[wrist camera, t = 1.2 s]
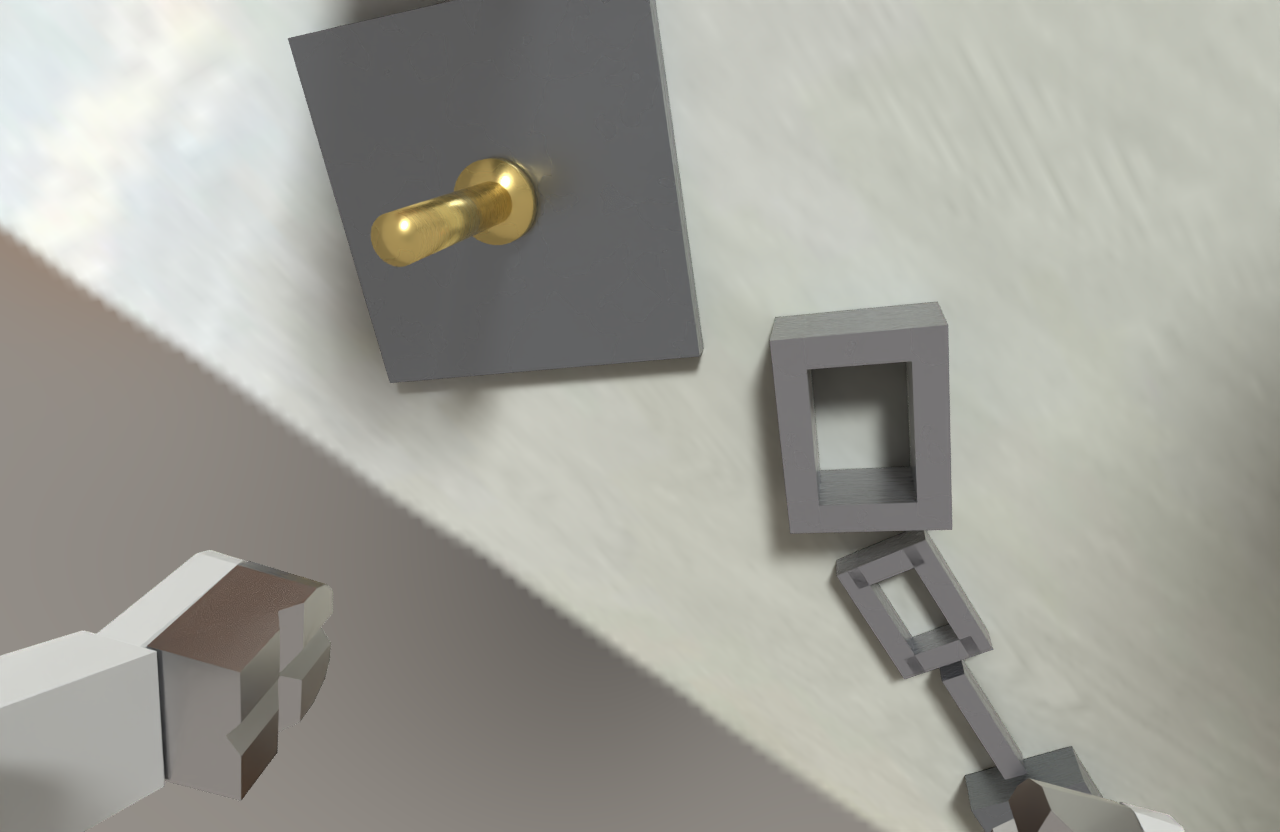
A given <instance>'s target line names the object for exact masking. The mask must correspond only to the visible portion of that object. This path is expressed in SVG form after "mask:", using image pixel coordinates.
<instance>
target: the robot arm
mask: <svg viewBox="0 0 1280 832" xmlns="http://www.w3.org/2000/svg"><path fill="white" fill-rule="evenodd" d="M332 613H333V590H332V589H331V588H330V587H329V586H328V585H327V584H324V583H320V582H317V581H314V580H311V579H307V578H304V577H300V576H297V575H294V574H291V573H288V572H284V571H281V570H278V569H274V568H271V567H268V566H264V565H261V564H258V563H254V562H251V561H248V562H247V561H244V560H241V559H238V558H235V557H231V556H228V555H225V554H222V553H218V552H215V551H212V550H208V551H204V552H200V553H197V554H195V555H194V556H192V557H191V558H190V559H189V560H187V561H186V562H185V563H184V564H182V565H181V566H180V567H179V568H178V569H176V570H175V571H174V572H173V573H172V574H170V575H169V576H168V577H166V578H165V579H164V580H163V581H161V582H160V583H159V584H158V585H157V586H155V587H154V588H153V589H151V590H150V591H149V592H148V593H146V594H145V595H144V596H143V597H141V599H139V600H138V601H137V602H135V603H134V604H133V605H131V606H130V607H129V608H128V609H126V610H125V611H124V612H123V613H122V614H120V615H119V616H118V617H117V618H115V619H114V620H113V621H112V622H110V623H109V624H108V625H107V626H105V627H104V628H103V629H102V630H100V631H99V632H98V633H97V634H95V633H91V632H87V631H84V630H83V631H79V632H76V633H73V634H70V635H66V636H63V637H60V638H56V639H53V640H50V641H47V642H43V643H40V644H37V645H34V646H30V647H27V648H24V649H20V650H17V651H14V652H11V653H8V654H4V655H1V656H0V832H85V831H87V830H88V829H90V828H92V827H94V826H96V825H97V824H99V823H101V822H102V821H104V820H106V819H108V818H109V817H111V816H113V815H115V814H117V813H118V812H120V811H122V810H123V809H125V808H127V807H129V806H130V805H132V804H134V803H136V802H137V801H139V800H141V799H143V798H145V797H146V796H148V795H150V794H151V793H153V792H155V791H157V790H159V789H160V788H162V787H164V785H165V781H167V782H171V783H175V784H178V785H182V786H186V787H190V788H194V789H198V790H201V791H205V792H209V793H213V794H217V795H221V796H224V797H228V798H232V799H236V800H239V801H241V800H242V799H243V798H244V796H245V795H246V794H247V792H248V791H249V790H250V788H251V787H252V786H253V784H254V783H255V782H256V780H257V779H258V778H259V776H260V775H261V774H262V772H263V771H264V770H265V768H266V767H267V766H268V764H269V763H270V762H271V760H272V759H273V758H274V756H275V755H276V754H277V751H278V750H277V749H278V732H280V731H282V730H284V729H286V728H288V727H291V726H293V725H295V724H297V723H299V722H300V721H301V720H302V719H303V717H304V716H305V714H306V713H307V712H308V710H309V709H310V707H311V706H312V705H313V703H314V701H315V699H316V697H317V695H318V693H319V691H320V688H321V686H322V684H323V682H324V680H325V677H326V673H327V669H328V665H329V661H330V650H331V642H330V640H329V639H328V637H327V636H326V634H325V633H324V631H323V629H322V628H321V627H322V626H323V624H324V623H325V622H326V621H327V619H328V618H329V617H330V615H332ZM1008 802H1009V805H1010V808H1011V811H1012V814H1013V817H1014V819H1012V820H1010V821H1008V822H1006V823H1003V824H1001V825H999V826H997V827H995V828H993V829H992V831H991V832H1185V831H1184V829H1183V827H1182V826H1181V825H1180V824H1179V823H1178V822H1177V821H1176V820H1175V819H1174V818H1172V817H1171V816H1170V815H1169V814H1166V813H1162V812H1158V811H1154V810H1150V809H1146V808H1142V807H1138V806H1134V805H1131V804H1127V803H1123V802H1120V803H1118V802H1115V801H1112V800H1109V799H1105V798H1101V797H1098V796H1094V795H1090V794H1086V793H1083V792H1079V791H1075V790H1071V789H1068V788H1064V787H1060V786H1056V785H1053V784H1049V783H1045V782H1042V781H1038V780H1034V779H1030V778H1028V779H1026V780H1025V781H1023V782H1022V783H1020V784H1019V785H1018V786H1017V787H1016V789H1015V791H1014V792H1013V794H1012V796H1011V797H1010V799H1009V801H1008Z"/></svg>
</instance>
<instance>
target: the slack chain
mask: <svg viewBox="0 0 1280 832" xmlns="http://www.w3.org/2000/svg"><path fill="white" fill-rule="evenodd" d="M912 568H915V570H916V571H917V573H918V575H919V576H920V578H921V579H922V581H923V583H924V584H925V586H926V587H927V589H928V591H929V592H930V594H931V595H932V597H933V599H934V600H935V602H936V603H937V605H938V607H939V608H940V610H941V611H942V613H943V615H944V616H945V618H946V619H947V621H948V623H949V625H946V626H943V627H940V628H937V629H935V630H932V631H929V632H926V633H923V634H921V635H918V636H915V637H912V636H911V634H910V633H909V631H908V630H907V628H906V627H905V625H904V623H903V622H902V620H901V619H900V617H899V616H898V614H897V613H896V611H895V609H894V608H893V606H892V605H891V603H890V602H889V600H888V599H887V597H886V595H885V594H884V592H883V591H882V589H881V588H880V586H879V585H878V583H877V582H879V581H882V580H884V579H887V578H890V577H892V576H895V575H897V574H900V573H902V572H905V571H907V570H910V569H912ZM837 577H838V579H839V580H840V582H841V583H842V585H843V586H844V588H845V589H846V591H847V592H848V594H849V595H850V597H851V599H852V600H853V602H854V603H855V605H856V606H857V608H858V609H859V611H860V612H861V614H862V615H863V617H864V618H865V620H866V621H867V623H868V624H869V626H870V628H871V629H872V631H873V632H874V634H875V635H876V637H877V638H878V640H879V641H880V643H881V644H882V646H883V647H884V649H885V650H886V652H887V653H888V655H889V657H890V658H891V660H892V661H893V663H894V664H895V666H896V667H897V669H898V670H899V672H900V673H901V675H902V676H903V678H904V679H907V678H910V677H913V676H916V675H919V674H922V673H925V672H928V671H930V670H933V669H936V668H939V667H940V672H941V678H942V682H943V684H944V685H945V687H946V688H947V690H948V691H949V693H950V695H951V696H952V698H953V699H954V701H955V702H956V704H957V705H958V707H959V709H960V710H961V712H962V713H963V715H964V716H965V718H966V719H967V721H968V723H969V724H970V726H971V727H972V729H973V730H974V732H975V733H976V735H977V737H978V738H979V740H980V741H981V743H982V744H983V746H984V747H985V749H986V751H987V752H988V754H989V755H990V757H991V758H992V760H993V762H994V763H995V765H996V766H997V767H994V768H991V769H987V770H983V771H980V772H976V773H973V774H969V775H965V779H966V784H967V789H968V795H969V800H970V805H971V811H972V812H973V814H974V815H975V817H976V818H977V820H978V821H979V823H980V824H981V826H982V827H983V829H984V830H985V832H991V831H992V829H993V828H995V827H997V826H999V825H1001V824H1003V823H1006V822H1008V821H1010V820H1012V819H1014V817H1013V814H1012V811H1011V808H1010V805H1009V802H1008V801H1009V799H1010V797H1011V796H1012V794H1013V792H1014V791H1015V789H1016V787H1017V786H1018V785H1019V784H1020V783H1022V782H1023V781H1025V780H1026V779H1028V778H1030V779H1034V780H1038V781H1042V782H1045V783H1049V784H1053V785H1056V786H1060V787H1064V788H1068V789H1071V790H1075V791H1079V792H1083V793H1086V794H1090V795H1094V796H1098V797H1101V798H1103V797H1102V795H1101V794H1100V792H1099V790H1098V789H1097V787H1096V785H1095V784H1094V782H1093V781H1092V779H1091V777H1090V776H1089V774H1088V772H1087V771H1086V769H1085V767H1084V766H1083V764H1082V762H1081V761H1080V759H1079V758H1078V756H1077V754H1076V753H1075V751H1074V749H1073V748H1072V746H1071V747H1067V748H1064V749H1060V750H1056V751H1053V752H1049V753H1045V754H1042V755H1038V756H1034V757H1031V758H1027V759H1023V756H1022V752H1021V751H1020V749H1019V748H1018V746H1017V745H1016V743H1015V741H1014V740H1013V738H1012V737H1011V735H1010V733H1009V732H1008V730H1007V729H1006V727H1005V725H1004V724H1003V722H1002V721H1001V719H1000V717H999V716H998V714H997V713H996V711H995V710H994V708H993V706H992V705H991V703H990V702H989V700H988V698H987V697H986V695H985V694H984V692H983V690H982V689H981V687H980V686H979V684H978V682H977V681H976V679H975V678H974V676H973V675H972V673H971V671H970V670H969V668H968V667H967V665H966V663H965V662H964V660H963V659H966V658H969V657H972V656H975V655H978V654H981V653H984V652H987V651H990V650H993V647H992V644H991V640H990V636H989V633H988V630H987V629H986V627H985V625H984V624H983V622H982V621H981V619H980V617H979V616H978V614H977V612H976V611H975V609H974V607H973V606H972V604H971V603H970V601H969V599H968V598H967V596H966V594H965V593H964V591H963V590H962V588H961V586H960V585H959V583H958V581H957V580H956V578H955V576H954V575H953V573H952V572H951V570H950V568H949V567H948V565H947V563H946V562H945V560H944V559H943V557H942V555H941V554H940V552H939V550H938V549H937V547H936V545H935V544H934V542H933V541H932V539H931V537H930V536H929V534H928V532H927V531H926V530H912V531H906V532H904V533H901V534H899V535H896V536H894V537H892V538H889V539H887V540H884V541H882V542H880V543H877V544H875V545H872V546H870V547H867V548H865V549H863V550H860V551H858V552H855V553H853V554H851V555H848V556H846V557H843V558H841V559H839V560H837Z"/></svg>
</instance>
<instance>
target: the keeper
mask: <svg viewBox="0 0 1280 832" xmlns="http://www.w3.org/2000/svg"><path fill="white" fill-rule="evenodd" d="M288 40H289V44H290V47H291V50H292V54H293V57H294V61H295V64H296V67H297V71H298V74H299V77H300V81H301V84H302V88H303V91H304V94H305V98H306V101H307V104H308V108H309V111H310V115H311V118H312V121H313V125H314V128H315V131H316V135H317V138H318V142H319V145H320V148H321V152H322V155H323V158H324V162H325V165H326V169H327V172H328V175H329V179H330V182H331V185H332V189H333V192H334V196H335V199H336V202H337V206H338V209H339V212H340V216H341V219H342V223H343V226H344V229H345V233H346V236H347V239H348V243H349V246H350V250H351V253H352V256H353V260H354V263H355V266H356V270H357V273H358V277H359V280H360V283H361V287H362V290H363V293H364V297H365V300H366V304H367V307H368V310H369V314H370V317H371V320H372V324H373V327H374V331H375V334H376V337H377V341H378V344H379V347H380V351H381V354H382V358H383V361H384V364H385V368H386V371H387V374H388V378H389V381H390V383H395V382H407V381H418V380H430V379H441V378H453V377H465V376H476V375H488V374H499V373H511V372H523V371H534V370H546V369H558V368H569V367H581V366H592V365H604V364H616V363H627V362H639V361H651V360H662V359H674V358H685V357H697V356H700V355H701V353H702V351H703V349H704V347H703V340H702V333H701V326H700V319H699V312H698V304H697V297H696V290H695V283H694V276H693V268H692V261H691V254H690V247H689V240H688V232H687V225H686V218H685V211H684V204H683V197H682V189H681V182H680V175H679V168H678V161H677V153H676V146H675V139H674V132H673V125H672V118H671V110H670V103H669V96H668V89H667V82H666V74H665V67H664V60H663V53H662V46H661V38H660V31H659V24H658V17H657V10H656V3H655V0H453V1H449V2H445V3H440V4H436V5H432V6H427V7H423V8H418V9H414V10H410V11H405V12H401V13H397V14H392V15H388V16H383V17H379V18H375V19H370V20H366V21H362V22H357V23H353V24H348V25H344V26H340V27H335V28H331V29H326V30H322V31H318V32H313V33H309V34H305V35H300V36H296V37H291V38H288Z"/></svg>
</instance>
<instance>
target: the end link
mask: <svg viewBox="0 0 1280 832" xmlns="http://www.w3.org/2000/svg"><path fill="white" fill-rule="evenodd" d="M770 348H771V357H772V367H773V376H774V385H775V395H776V404H777V413H778V423H779V432H780V442H781V451H782V460H783V470H784V479H785V488H786V498H787V507H788V517H789V526H790V533H829V532H871V531H912V530H952V494H951V445H950V396H949V347H948V324H947V321H946V319H945V317H944V315H943V313H942V310H941V308H940V306H939V304H938V302H930V303H919V304H909V305H899V306H888V307H878V308H868V309H857V310H847V311H837V312H827V313H816V314H806V315H796V316H785V317H775V321H774V325H773V329H772V333H771V338H770ZM896 362H906V371H907V395H908V420H909V444H910V467H890V468H868V469H845V470H823V471H820V463H819V452H818V440H817V429H816V417H815V406H814V395H813V383H812V372H811V369H819V368H832V367H845V366H858V365H870V364H883V363H896Z"/></svg>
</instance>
